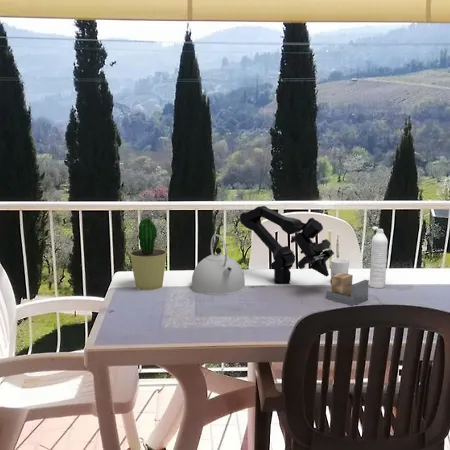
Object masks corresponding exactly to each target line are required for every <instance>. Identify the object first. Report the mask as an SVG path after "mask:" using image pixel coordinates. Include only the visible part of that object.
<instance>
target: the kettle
mask: <svg viewBox="0 0 450 450" xmlns="http://www.w3.org/2000/svg"><path fill="white" fill-rule="evenodd" d="M215 237H216V238H217V237H218V238H219V239H220V240H221V242H222V243H223V247H224V253H225V254H222V249H221V247H219V246H218V247H216V248H215V250H214V249H213V242H214V239H215ZM213 251H215V253H216V254H215V253H214V252H213ZM210 253H211V254H210V255H207V256H206V257H204V258H203V259H202V260H200V261H199V262H198V264H197V265H196V266H195V268H194V270H193V273H192V277H191V289H192V291H194V292H197V293H199V294H204V295H212V296H222V295H223V296H227V295H232V294H233V295H234V294H237V293H240V292H242V291H243V290H245V288H246V285H245V284H246V281H245V280H246V279H245V274H244V270H243V268H242V267H241V265H240V264H239V263H238V262H237V261H236V260H235V259H234V258H232V257H231V256H229V255H228V249H227V243H226V242H225V240H224V238H223V237H222V236H221V235H220V234H216V233H215V234H213V235H212V237H211V240H210Z"/></svg>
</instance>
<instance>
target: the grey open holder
mask: <svg viewBox="0 0 450 450" xmlns="http://www.w3.org/2000/svg"><path fill="white" fill-rule="evenodd" d="M369 282H370V279H369V280H368V279H363V280H361V281H358V282H355V283H352V285H351V295H349V296H347V295H343V294H340V293H336V292H332V291H331V290H326V291H325V299H327V300H331V301H334V302H338V303H340V304H341V303H342V304H345V305H349V306H352V305H355V306H356V305H359V304H361V303H363V302H366V301H368V299H369V287H370V285H369Z"/></svg>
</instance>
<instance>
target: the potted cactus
mask: <svg viewBox="0 0 450 450" xmlns="http://www.w3.org/2000/svg"><path fill="white" fill-rule="evenodd" d="M153 220H154V219H152V218H151V217H150V218H149V217H145V218H142V220H140V221H139V222H138V223H137V226H138V227H136V229H138V230H137V232H138V233H137V241H138V246H139V248H138V249H135V250H132V251H130V253H129V255H130V261H131V267H132V272H133V277H134V278H133V279H134V284H135V287H136V288H137V289H138V290H141V291H153V290H159V289H161V288H162V287H163V285H164V284H163V283H164V277H165V276H164V275H165V269H166V261H167V253H168V251H167V250H165V249H163V248H155V246H156V244H157V238H158V237H159V234H160V232H159V231H158V228H157V226H156V224H155V223H154V221H153ZM137 241H136V242H137Z"/></svg>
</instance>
